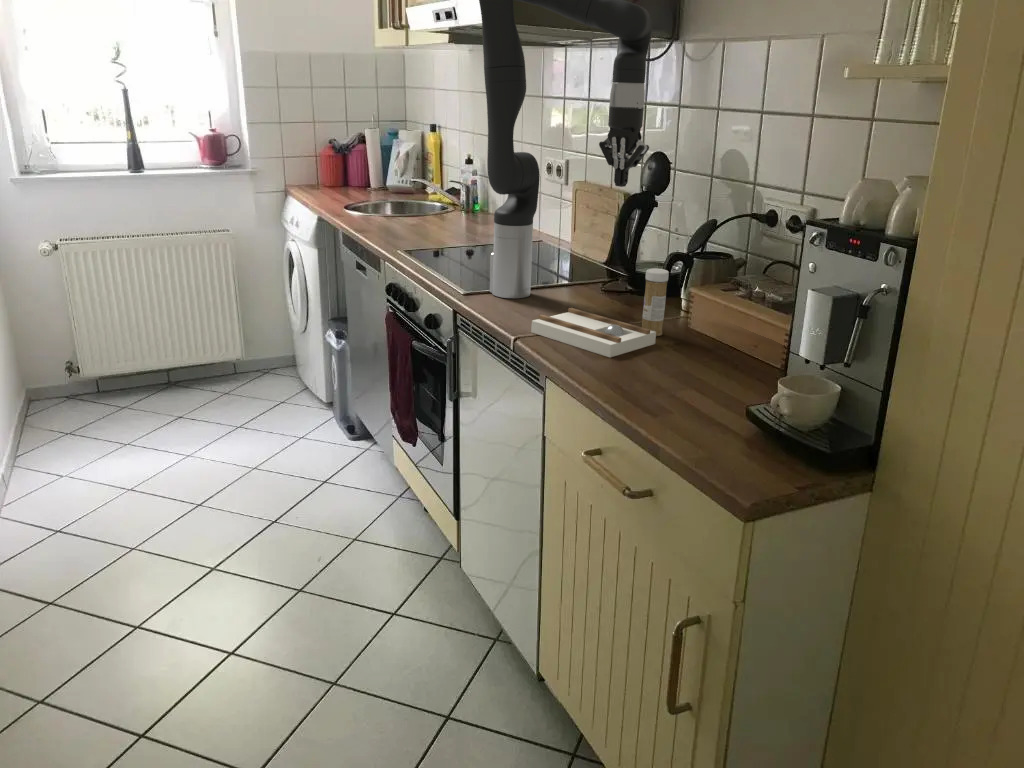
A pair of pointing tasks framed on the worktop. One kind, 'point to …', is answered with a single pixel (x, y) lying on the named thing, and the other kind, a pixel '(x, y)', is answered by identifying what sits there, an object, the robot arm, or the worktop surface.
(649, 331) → the track board
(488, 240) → the worktop surface
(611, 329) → the ball
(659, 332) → the sprinkles bottle
